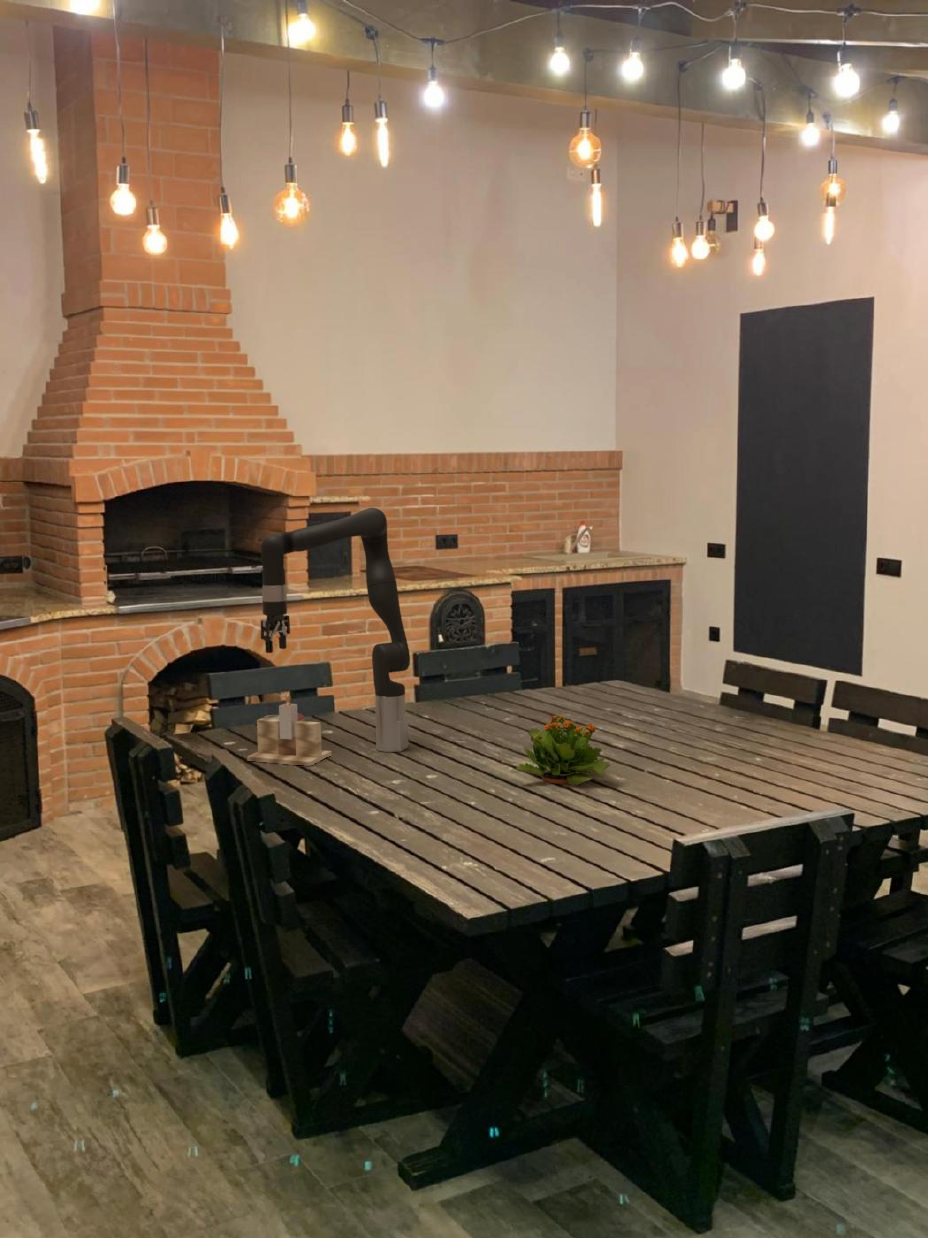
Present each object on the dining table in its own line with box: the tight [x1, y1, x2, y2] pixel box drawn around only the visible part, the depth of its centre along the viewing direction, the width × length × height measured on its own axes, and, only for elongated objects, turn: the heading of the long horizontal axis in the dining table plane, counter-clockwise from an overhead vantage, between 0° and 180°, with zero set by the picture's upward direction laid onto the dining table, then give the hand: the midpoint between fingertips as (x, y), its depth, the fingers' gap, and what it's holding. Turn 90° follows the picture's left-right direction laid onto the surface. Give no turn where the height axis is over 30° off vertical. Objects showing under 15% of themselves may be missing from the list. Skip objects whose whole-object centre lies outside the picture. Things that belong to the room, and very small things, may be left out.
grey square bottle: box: [278, 694, 298, 739], centre depth 370 cm, size 4×4×13 cm
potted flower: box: [516, 715, 612, 787], centre depth 344 cm, size 25×24×18 cm
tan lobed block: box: [246, 714, 333, 766], centre depth 371 cm, size 21×14×12 cm, turn 69°
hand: (276, 650), depth 386 cm, fingers open, 8 cm apart
